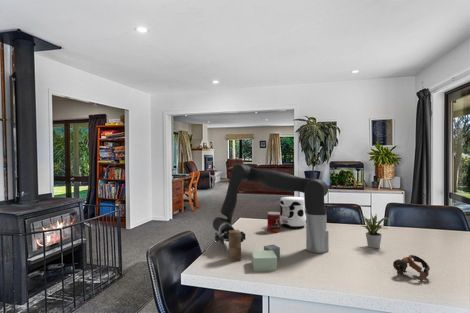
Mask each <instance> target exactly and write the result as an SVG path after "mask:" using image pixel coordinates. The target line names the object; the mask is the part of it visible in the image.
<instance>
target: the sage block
mask: <svg viewBox="0 0 470 313" xmlns="http://www.w3.org/2000/svg"><path fill="white" fill-rule="evenodd" d="M251 265H252V268H253V271H258V272H259V271H260V272H261V271H278V260H277V257H276V255H275V253H274V251H273V250H268V251H264V250H251Z"/></svg>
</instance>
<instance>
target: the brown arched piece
mask: <svg viewBox="0 0 470 313" xmlns="http://www.w3.org/2000/svg"><path fill="white" fill-rule="evenodd" d="M392 263H393V264H392V266H393V269H394V270H395V271H396V273H397V274H400V275H403V274H404V271H407V268H408V266H409V267H410V268H411V269H412V270H415V271H416V272H417V273H419V276H418V280H419V281H423V280H424V279H426V278H428V276H429V271H430V270H431V268H430V266H429V264H428V263H427V262H426V261H425V260H424V259H423V258H421V257H419V256H417V255H414V254H410V255H408V256H404V257H402V258H401V259H395V260H394V261H393V262H392ZM417 263H421V266H420V265H418V264H417Z"/></svg>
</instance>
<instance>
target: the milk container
mask: <svg viewBox="0 0 470 313" xmlns="http://www.w3.org/2000/svg"><path fill="white" fill-rule="evenodd" d="M279 207H280V208H279V210H280V212H279V213H280V226H282V227H286V228H290V229H291V228H294V229H295V228H303V227H304V226H306V208H305V201H304V197H300V196H283V197H280V204H279Z"/></svg>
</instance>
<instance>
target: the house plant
mask: <svg viewBox="0 0 470 313" xmlns="http://www.w3.org/2000/svg"><path fill="white" fill-rule="evenodd" d="M370 215H371V218H370V219H367V217H366V216H364V215H361V216H362V217H363V218H362V217H361V219H362V220H363V221H364V222H365V224H366V225H361V226H360V227H363V228H364V229H366V230H367V231H366V232H365V237H366V244H367V247H369V248H370V249H379V248H380V247H381V242H382V233H380V232H378V231H380V230H381V231H382V230H384V229H385V230H387V227H384V228H382V227H383V226H384V224H382V223H383V222H384V220H386V219H388V216H385V217H382V218H381V219H380V220H379V221H377V220H378V216H377V214H375V215H374V216H373V214H372V213H370Z"/></svg>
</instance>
